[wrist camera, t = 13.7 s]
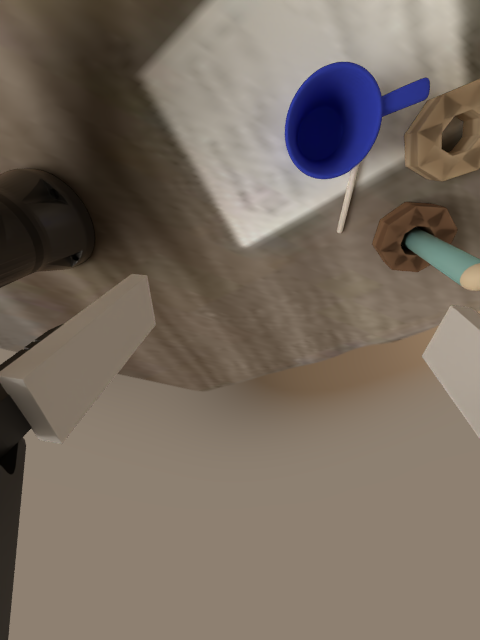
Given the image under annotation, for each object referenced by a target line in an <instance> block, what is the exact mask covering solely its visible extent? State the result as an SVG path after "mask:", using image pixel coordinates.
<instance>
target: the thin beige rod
mask: <svg viewBox="0 0 480 640" xmlns="http://www.w3.org/2000/svg"><path fill="white" fill-rule="evenodd" d="M359 164H360V163H359ZM359 164H358V165H357V166H356V167H354V168H353V169H352V170H351V173H350V177H349V181H348V186H347V190H346V194H345V198H344V202H343V207H342V211H341V215H340V219H339V223H338V228H337V232H338V233H342V231H343V228H344V224H345V220H346V216H347V212H348V208H349V204H350V200H351V196H352V192H353V188H354V184H355V180H356V176H357V172H358V168H359Z"/></svg>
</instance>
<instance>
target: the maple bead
mask: <svg viewBox="0 0 480 640" xmlns="http://www.w3.org/2000/svg"><path fill="white" fill-rule="evenodd" d="M454 116H455V117H457V118H459V119H460V120H462V121H463V135H462V138H461V139H460V141H459V142H458V143H457V144H456V146H455V147H454V148H453V149H452V151H450V152H448V153H447V152H445V151H444V150H442V149H441V148H442V132H443V131H444V129H445V128H446V127H447V125H448V124H449V123H450V121H451V120H452V119H453V117H454ZM404 141H405V166H406V167H407V168H409V169H411V170H412V171H414V172H416V173H418V174H419V175H421V176H423V177H424V178H426V179H428V180H436V181H445V180H448V179H451V178H454V177H457V176H460V175H463V174H466V173H469V172H472V171H475V170H478V169H479V168H480V79H478V80H476V81H474V82H471V83H469V84H466V85H464V86H462V87H459V88H457V89H454V90H452V91H450V92H447V93H445V94H443V95H440V96H438V97H435V98H433V99H431V100H428V101H427V102H426V104H425V105H424V107H423V108H422V110H421V111H420V113H419V114H418V116H417V117H416V119H415V120H414V121H413V123H412V124H411V126H410V127H409V129H408V130H407V132H406V133H405V135H404Z"/></svg>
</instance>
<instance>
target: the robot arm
mask: <svg viewBox="0 0 480 640" xmlns="http://www.w3.org/2000/svg"><path fill="white" fill-rule="evenodd" d="M94 242H95V235H94V228H93V224H92V221H91V218H90V216H89V214H88V212H87V210H86V208H85V206H84V205H83V203H82V202H81V200H80V199H79V198H78V196H77V195H76V194H75V193H74V192H73V191H72V190H71V189H70V188H69V187H68V186H67V185H66V184H65V183H64V182H62V181H61V180H60V179H58V178H57V177H55V176H53V175H51V174H49V173H47V172H44V171H41V170H37V169H14V170H10V171H7V172H4V173H3V174H1V175H0V288H1V287H3V286H5V285H7V284H10V283H12V282H14V281H16V280H18V279H20V278H23V277H25V276H27V275H29V274H31V273H34V272H38V271H52V270H65V269H69V268H73V267H75V266H77V265H79V264H81V263H83V262H84V261H86V260H87V259H88V258H89V256H90V255H91V253H92V251H93V248H94ZM155 325H156V323H155V317H154V311H153V306H152V300H151V294H150V289H149V283H148V277H147V275H138V274H131V275H130V276H128V277H127V278H126V279H124V280H123V281H121V282H120V283H119V284H117V285H116V286H115V287H113V288H112V289H111V290H109V291H108V292H107V293H105V294H104V295H103V296H101V297H100V298H99V299H97V300H96V301H94V302H93V303H92V304H90V305H89V306H88V307H86V308H85V309H84V310H82V311H81V312H80V313H78V314H77V315H76V316H74V317H73V318H72V319H70V320H69V321H68V322H66V323H65V324H62V325H59V326H57V327H55V328H53V329H51V330H48V331H47V332H45V333H44V334H43V335H41V336H40V337H38V338H37V339H36V340H35V342H31V343H30V344H29V345H27V346H26V347H24V350H20V351H19V352H18V353H16V354H15V355H13V356H12V357H11V358H9V359H8V360H7V361H5V362H4V363H3V364H1V365H0V640H8V634H9V623H10V612H11V602H12V601H11V600H12V591H13V580H14V570H15V559H16V548H17V537H18V527H19V515H20V505H21V494H22V484H23V473H24V462H25V451H26V444H25V440H24V439H23V436H24V435H25V434H26V433H27V432H28V431H29V430H30V429H32V430H33V431H34V433H35V434H36V436H37V437H38V439H39V440H43V441H48V442H54V443H60V444H62V443H63V442H64V441H65V439H66V438H67V437H68V436H69V434H70V433H71V432H72V431H73V429H74V428H75V427H76V426H77V424H78V423H79V422H80V420H81V419H82V418H83V417H84V415H85V414H86V413H87V411H88V410H89V409H90V408H91V406H92V405H93V404H94V402H95V401H96V400H97V399H98V398H99V396H100V395H101V394H102V392H103V391H104V390H105V388H106V387H107V386H108V385H109V384H110V382H111V381H112V380H113V378H114V377H115V376H116V375H117V373H118V372H119V371H120V370H121V368H122V367H123V366H124V364H125V363H126V362H127V361H128V359H129V358H130V357H131V356H132V354H133V353H134V352H135V350H136V349H137V348H138V347H139V345H140V344H141V343H142V342H143V340H144V339H145V338H146V336H147V335H148V334H149V333H150V331H151V330H152V329H153V327H154V326H155ZM422 357H423V358H424V360H425V362H426V363H427V364H428V366H429V367H430V369H431V370H432V372H433V373H434V374H435V376H436V377H437V379H438V380H439V381H440V383H441V384H442V386H443V387H444V389H445V390H446V391H447V393H448V394H449V396H450V397H451V399H452V400H453V401H454V403H455V404H456V406H457V407H458V409H459V410H460V411H461V413H462V414H463V416H464V417H465V418H466V420H467V421H468V423H469V424H470V426H471V427H472V429H473V430H474V431H475V433H476V434H477V436H478V437H479V438H480V314H479V313H478V312H477V311H475V310H474V309H473V308H472V307H465V306H455V305H451V306H450V307H449V309H448V311H447V313H446V314H445V316H444V318H443V320H442V321H441V323H440V325H439V327H438V329H437V330H436V332H435V334H434V336H433V337H432V339H431V341H430V343H429V344H428V346H427V348H426V350H425V352H424V353H423V355H422Z"/></svg>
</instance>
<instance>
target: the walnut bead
mask: <svg viewBox="0 0 480 640" xmlns="http://www.w3.org/2000/svg"><path fill="white" fill-rule="evenodd" d="M416 226H420V227H421V229H422V230H423V231H425V232H427V233H428V234H430V235H432V236H434V237H436V238H438V239H440V240H442V241H444V242H446V243H448V244H450V245H451V243H452V241H453V239H454V237H455V235H456V233H457V231H458V229H457V227H456V225H455V224H454V222H453V220H452V218H451V216H450V214H449V212H448V210H447V208H445V207H442V206H438V205H435V204H429V203H412V202H404V203H403V204H401V205H400V206H399V207H397V208H396V209H394V210H393V211H392V212H390V213H389V214H387V215H386V216H385V217H383V218H382V219H380V221H379V224H378V228H377V231H376V234H375V237H374V240H373V243H372V245H373V246H374V248H375V249H376V251H377V252H378V254H379V255H380V257H381V258H382V260H383V261H384V262H385V263H386V264H387V265H388V266H389V267H390V268H391V269H392V270H400V271H412V272H419V271H420V270H422V269H424V268H426V267H427V266H429V265H431V264H430V263H428V262H427V261H425V260H424V259H422V258H421V257H420V256H418V255H417V254H415V253H414V252H413V251H411V250H410V249H408V248H404V247H400V245H401V242H402V240H403V237H404V234H405V233H407V232H409V231H410V230H412V229H413V228H415V227H416Z"/></svg>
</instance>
